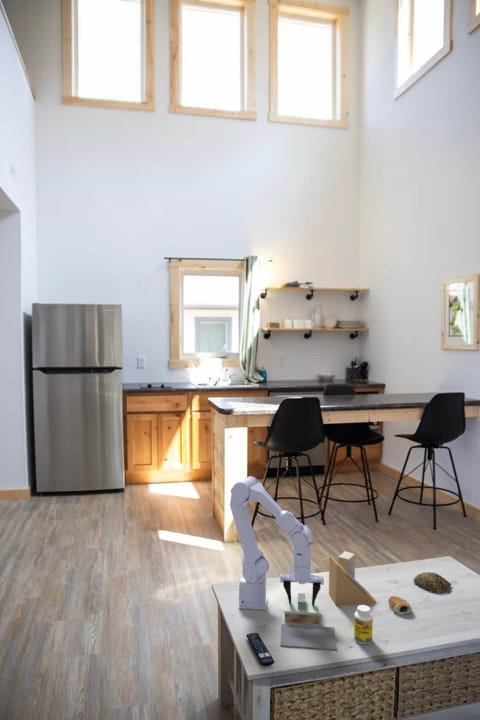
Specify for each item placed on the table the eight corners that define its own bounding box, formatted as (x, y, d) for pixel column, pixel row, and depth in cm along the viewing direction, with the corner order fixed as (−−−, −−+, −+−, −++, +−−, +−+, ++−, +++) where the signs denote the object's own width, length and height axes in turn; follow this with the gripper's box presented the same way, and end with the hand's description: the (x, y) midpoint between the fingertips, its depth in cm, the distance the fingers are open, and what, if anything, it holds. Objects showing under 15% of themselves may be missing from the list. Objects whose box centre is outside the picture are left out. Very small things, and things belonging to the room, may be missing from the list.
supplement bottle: (352, 642, 164) (353, 610, 164) (355, 633, 169) (356, 602, 169) (371, 646, 162) (371, 614, 162) (373, 637, 167) (374, 605, 167)
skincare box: (344, 581, 205) (345, 550, 204) (355, 584, 202) (355, 553, 201) (337, 588, 199) (337, 556, 199) (348, 591, 197) (348, 559, 196)
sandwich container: (377, 603, 188) (378, 562, 188) (336, 606, 186) (336, 564, 185) (368, 592, 197) (369, 552, 196) (328, 594, 195) (329, 554, 194)
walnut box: (284, 621, 176) (284, 613, 176) (285, 607, 185) (285, 599, 184) (318, 624, 175) (318, 615, 174) (317, 609, 183) (317, 601, 183)
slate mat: (280, 646, 162) (280, 645, 162) (281, 624, 174) (281, 623, 174) (336, 650, 160) (336, 649, 160) (334, 628, 172) (334, 627, 172)
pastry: (383, 602, 190) (384, 591, 189) (401, 601, 191) (401, 590, 190) (395, 616, 180) (395, 605, 180) (413, 614, 181) (414, 603, 181)
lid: (284, 614, 175) (284, 603, 175) (284, 600, 185) (284, 589, 185) (319, 617, 174) (319, 605, 174) (318, 602, 184) (318, 591, 183)
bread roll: (409, 582, 205) (409, 569, 205) (433, 576, 211) (433, 563, 210) (434, 597, 194) (434, 583, 193) (459, 590, 199) (459, 577, 199)
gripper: (280, 567, 176) (279, 608, 176) (324, 570, 174) (323, 610, 175) (280, 558, 183) (280, 597, 183) (323, 561, 181) (322, 600, 182)
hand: (301, 603), depth 179 cm, fingers open, 7 cm apart
